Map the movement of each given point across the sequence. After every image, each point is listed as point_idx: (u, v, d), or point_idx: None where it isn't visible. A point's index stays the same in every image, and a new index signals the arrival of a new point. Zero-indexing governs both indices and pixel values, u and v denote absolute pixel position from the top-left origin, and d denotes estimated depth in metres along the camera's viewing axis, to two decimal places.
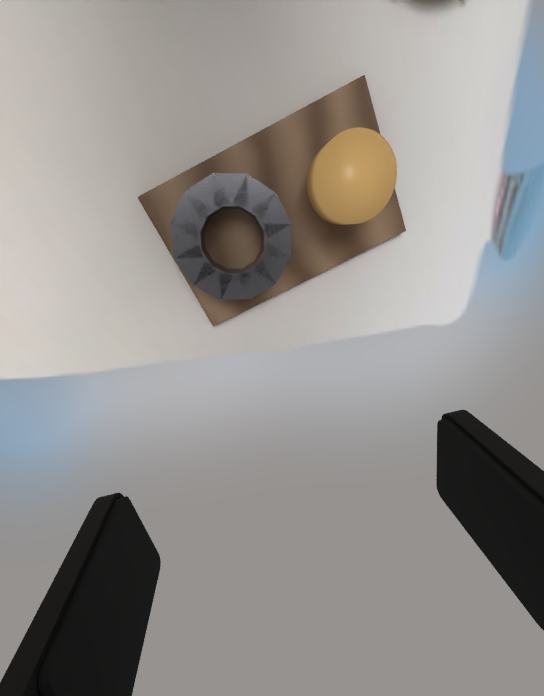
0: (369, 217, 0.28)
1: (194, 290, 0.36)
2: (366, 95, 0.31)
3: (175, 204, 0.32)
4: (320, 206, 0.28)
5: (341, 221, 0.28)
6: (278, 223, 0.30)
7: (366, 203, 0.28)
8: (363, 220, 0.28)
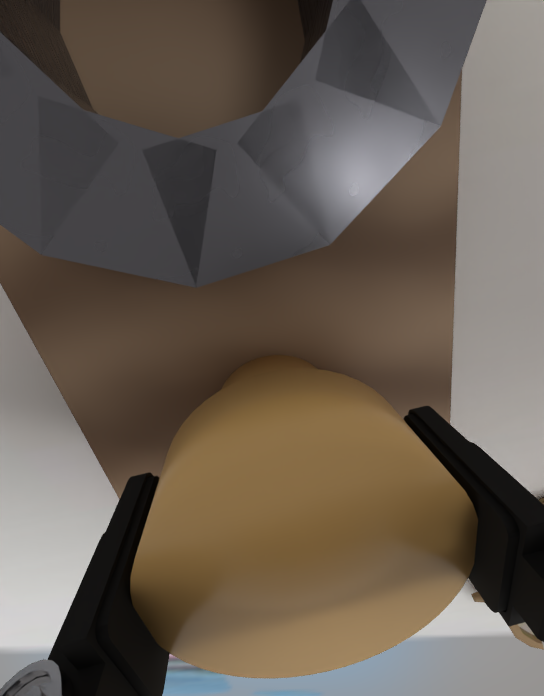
0: (152, 627, 0.07)
1: None
2: None
3: None
4: (238, 451, 0.05)
5: (149, 539, 0.06)
6: (206, 226, 0.06)
7: (211, 615, 0.07)
8: (142, 611, 0.06)
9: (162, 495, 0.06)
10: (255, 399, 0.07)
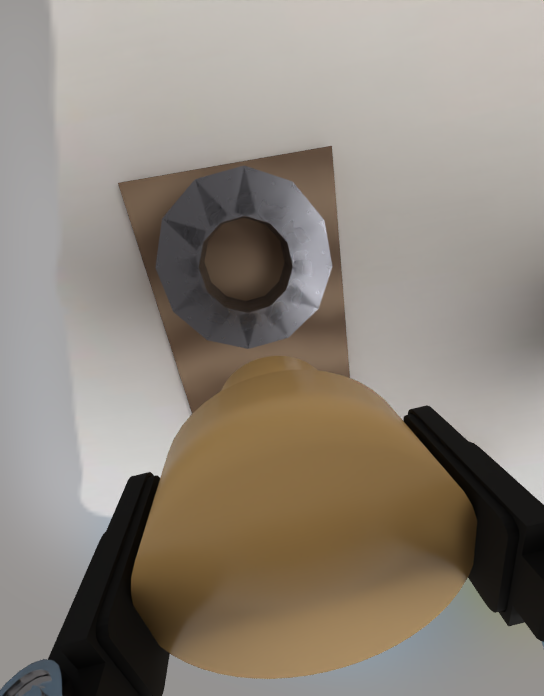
0: (152, 628, 0.07)
1: (185, 174, 0.22)
2: None
3: (307, 197, 0.24)
4: (239, 452, 0.05)
5: (149, 540, 0.06)
6: (252, 333, 0.23)
7: (211, 616, 0.07)
8: (143, 611, 0.06)
9: (163, 496, 0.06)
10: (255, 400, 0.07)
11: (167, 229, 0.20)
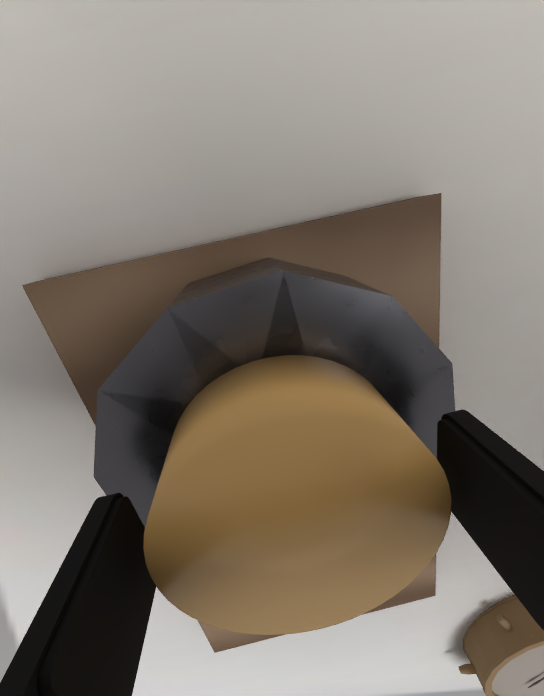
0: (162, 582, 0.07)
1: (156, 262, 0.11)
2: (412, 598, 0.21)
3: (388, 287, 0.13)
4: (238, 421, 0.06)
5: (160, 499, 0.06)
6: None
7: (214, 572, 0.07)
8: (153, 566, 0.07)
9: (171, 462, 0.07)
10: (253, 380, 0.08)
11: (112, 409, 0.09)
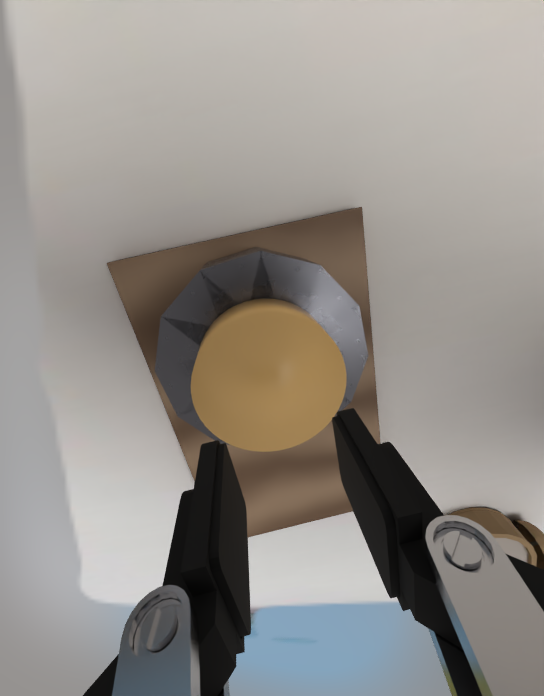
0: (198, 407, 0.15)
1: (187, 249, 0.18)
2: None
3: (332, 266, 0.20)
4: (237, 318, 0.13)
5: (200, 356, 0.14)
6: None
7: (225, 403, 0.15)
8: (194, 397, 0.14)
9: (204, 343, 0.14)
10: (244, 307, 0.15)
11: (167, 328, 0.16)
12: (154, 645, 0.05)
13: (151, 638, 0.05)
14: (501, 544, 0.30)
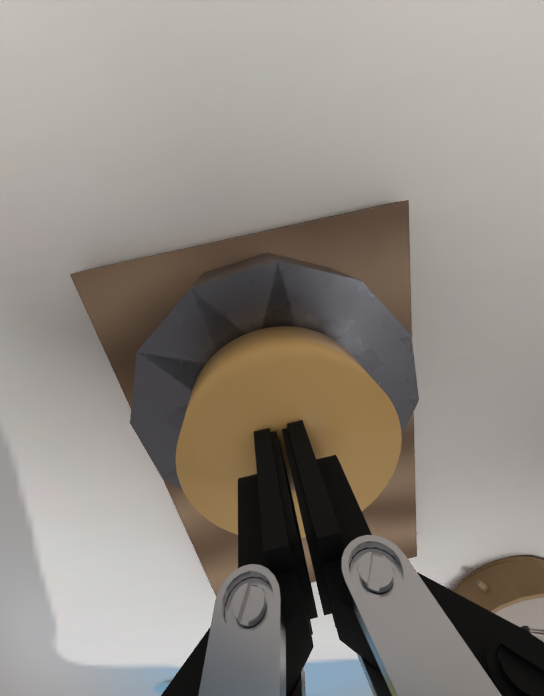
0: (187, 488, 0.10)
1: (177, 255, 0.14)
2: None
3: (366, 277, 0.15)
4: (244, 364, 0.09)
5: (189, 420, 0.09)
6: None
7: (225, 481, 0.10)
8: (182, 474, 0.10)
9: (196, 397, 0.10)
10: (255, 342, 0.10)
11: (146, 367, 0.12)
12: (242, 620, 0.05)
13: (241, 613, 0.05)
14: None
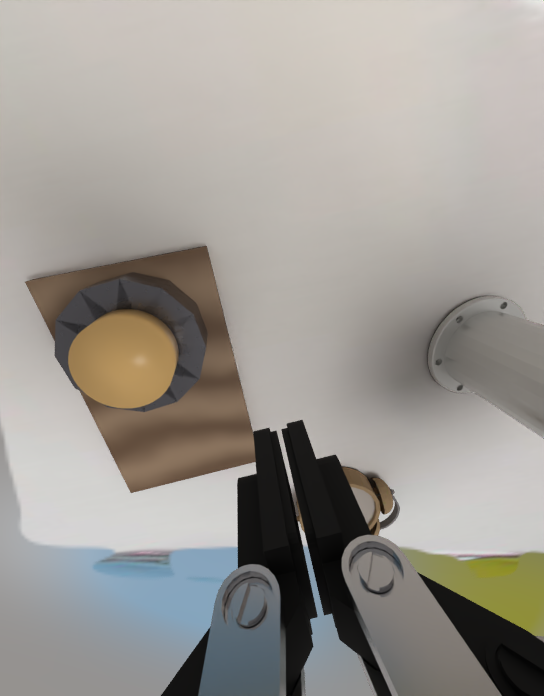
0: (75, 378, 0.23)
1: (83, 273, 0.27)
2: (245, 462, 0.38)
3: (191, 285, 0.29)
4: (95, 322, 0.22)
5: (72, 345, 0.22)
6: None
7: (93, 375, 0.23)
8: (72, 371, 0.23)
9: None
10: (107, 315, 0.23)
11: (61, 327, 0.24)
12: (242, 619, 0.05)
13: (241, 613, 0.05)
14: None
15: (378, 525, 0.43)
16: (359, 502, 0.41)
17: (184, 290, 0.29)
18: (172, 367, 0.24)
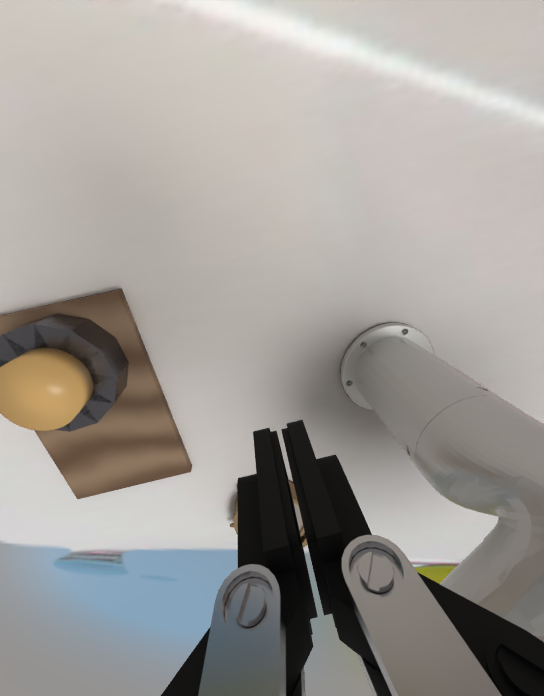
0: None
1: (15, 315, 0.32)
2: (178, 472, 0.42)
3: (108, 323, 0.33)
4: (8, 362, 0.27)
5: None
6: None
7: (11, 404, 0.28)
8: None
9: None
10: (23, 354, 0.28)
11: None
12: (242, 620, 0.05)
13: (241, 612, 0.05)
14: None
15: None
16: None
17: (103, 327, 0.33)
18: (78, 397, 0.29)
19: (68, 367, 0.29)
